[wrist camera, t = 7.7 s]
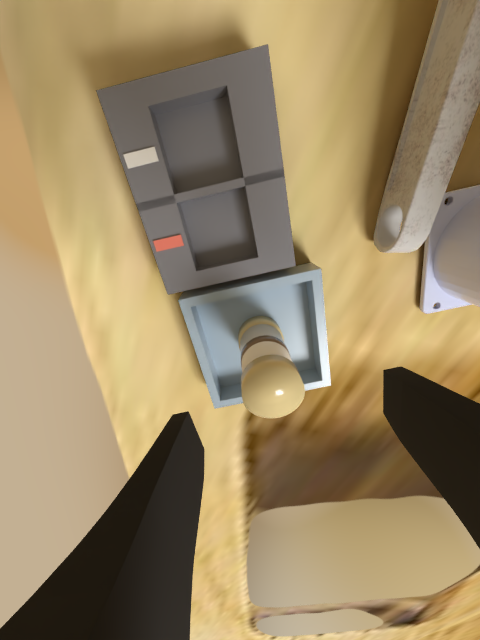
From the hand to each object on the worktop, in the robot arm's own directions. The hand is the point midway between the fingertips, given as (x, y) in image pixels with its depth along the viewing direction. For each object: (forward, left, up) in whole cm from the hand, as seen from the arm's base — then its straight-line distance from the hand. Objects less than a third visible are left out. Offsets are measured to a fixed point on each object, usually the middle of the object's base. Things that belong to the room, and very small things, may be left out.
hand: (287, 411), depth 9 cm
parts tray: (0, +2, -10) cm, 10 cm away
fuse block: (+1, -8, -10) cm, 13 cm away
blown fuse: (0, +2, -10) cm, 10 cm away
